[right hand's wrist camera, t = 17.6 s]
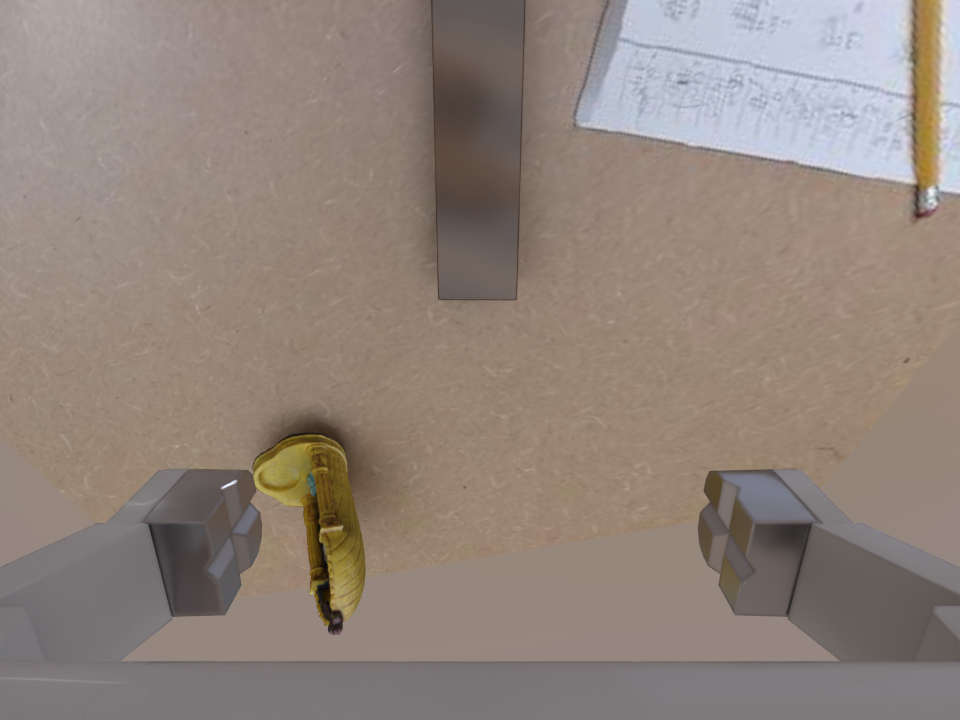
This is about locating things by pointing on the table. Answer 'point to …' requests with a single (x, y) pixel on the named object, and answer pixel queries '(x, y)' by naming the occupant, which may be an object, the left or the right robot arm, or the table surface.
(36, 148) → the table surface
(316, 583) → the shrine
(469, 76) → the beam
